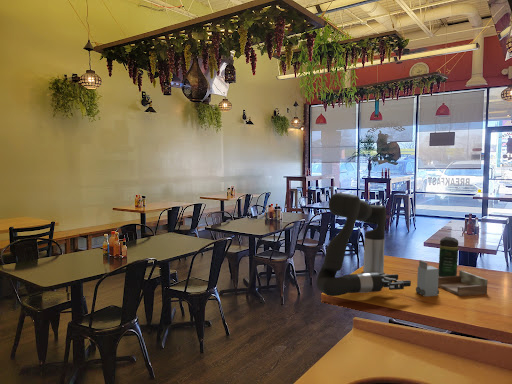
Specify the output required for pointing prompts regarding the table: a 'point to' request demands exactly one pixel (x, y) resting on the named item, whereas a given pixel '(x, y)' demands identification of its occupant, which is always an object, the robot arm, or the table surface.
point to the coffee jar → (448, 257)
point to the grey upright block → (427, 280)
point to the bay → (464, 284)
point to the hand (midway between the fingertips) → (403, 279)
